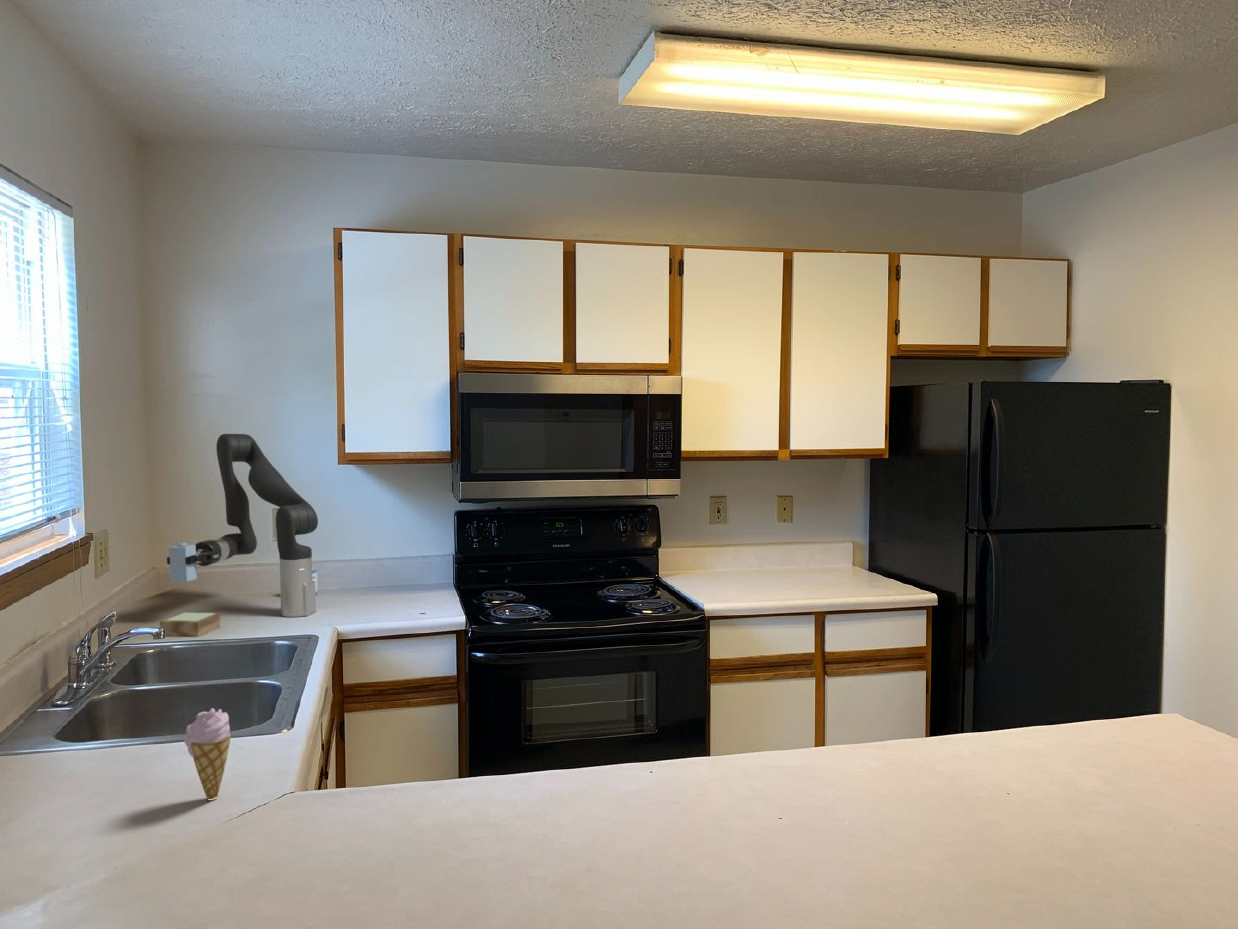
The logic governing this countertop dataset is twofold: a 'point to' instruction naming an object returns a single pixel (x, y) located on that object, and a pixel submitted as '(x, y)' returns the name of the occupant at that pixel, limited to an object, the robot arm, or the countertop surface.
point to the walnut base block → (190, 624)
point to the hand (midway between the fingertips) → (177, 561)
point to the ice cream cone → (209, 748)
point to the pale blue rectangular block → (182, 563)
